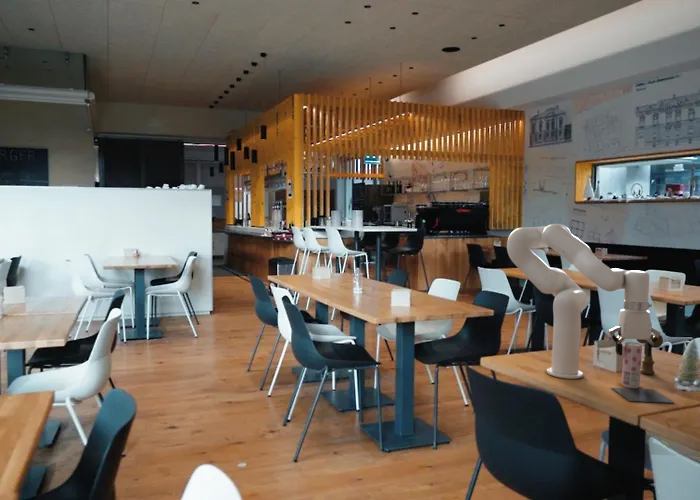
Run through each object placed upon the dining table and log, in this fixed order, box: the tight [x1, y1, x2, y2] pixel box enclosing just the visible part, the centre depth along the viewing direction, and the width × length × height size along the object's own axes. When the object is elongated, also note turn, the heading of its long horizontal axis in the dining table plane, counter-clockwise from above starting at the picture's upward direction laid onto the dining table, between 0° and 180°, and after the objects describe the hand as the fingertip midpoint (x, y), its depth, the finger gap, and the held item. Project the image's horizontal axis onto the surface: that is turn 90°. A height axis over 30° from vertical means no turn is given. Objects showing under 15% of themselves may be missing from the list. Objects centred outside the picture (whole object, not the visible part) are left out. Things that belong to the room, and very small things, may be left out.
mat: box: [611, 387, 675, 404], centre depth 197 cm, size 14×14×1 cm
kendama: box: [636, 322, 664, 376], centre depth 224 cm, size 6×10×20 cm, turn 2°
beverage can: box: [621, 341, 643, 389], centre depth 207 cm, size 6×6×15 cm
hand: (633, 355), depth 207 cm, fingers open, 9 cm apart
